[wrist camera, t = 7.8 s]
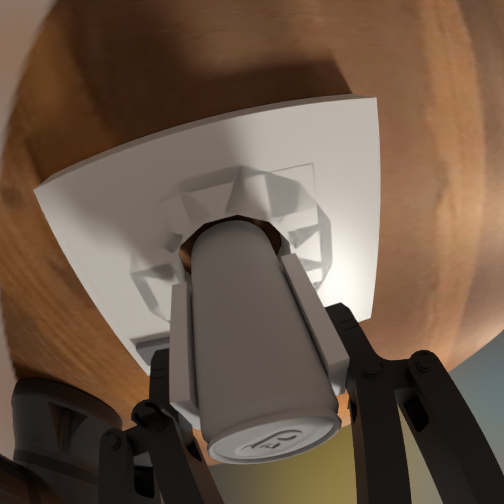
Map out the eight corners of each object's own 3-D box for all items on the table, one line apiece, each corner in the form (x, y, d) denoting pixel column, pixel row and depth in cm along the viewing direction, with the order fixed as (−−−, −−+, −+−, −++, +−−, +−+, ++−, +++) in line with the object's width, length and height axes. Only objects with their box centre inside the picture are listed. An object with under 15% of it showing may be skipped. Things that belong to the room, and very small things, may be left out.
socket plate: (149, 351, 23) (148, 381, 20) (52, 174, 14) (28, 194, 11) (357, 297, 23) (373, 322, 21) (353, 93, 14) (382, 98, 12)
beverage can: (175, 259, 18) (176, 458, 8) (224, 199, 16) (275, 403, 6) (236, 292, 20) (276, 466, 10) (284, 242, 18) (370, 417, 8)
